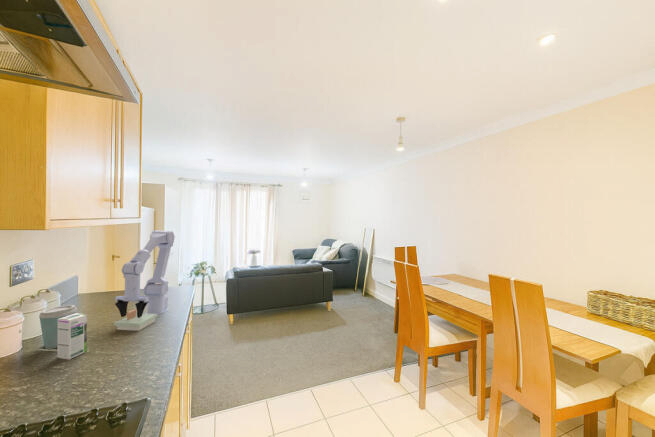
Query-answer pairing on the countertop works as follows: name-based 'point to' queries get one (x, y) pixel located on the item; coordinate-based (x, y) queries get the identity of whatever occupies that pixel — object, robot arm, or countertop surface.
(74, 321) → the syrup box
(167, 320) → the countertop surface
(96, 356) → the countertop surface
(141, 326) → the tub
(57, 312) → the disposable coffee cup
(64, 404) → the countertop surface
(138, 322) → the lid
